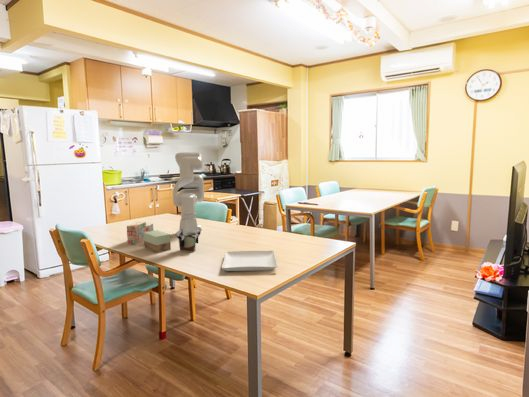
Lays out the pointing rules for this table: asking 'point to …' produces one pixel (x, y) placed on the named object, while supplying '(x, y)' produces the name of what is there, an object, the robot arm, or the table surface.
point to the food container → (188, 243)
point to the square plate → (249, 261)
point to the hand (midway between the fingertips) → (189, 244)
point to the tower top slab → (156, 237)
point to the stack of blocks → (137, 232)
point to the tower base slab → (157, 247)
